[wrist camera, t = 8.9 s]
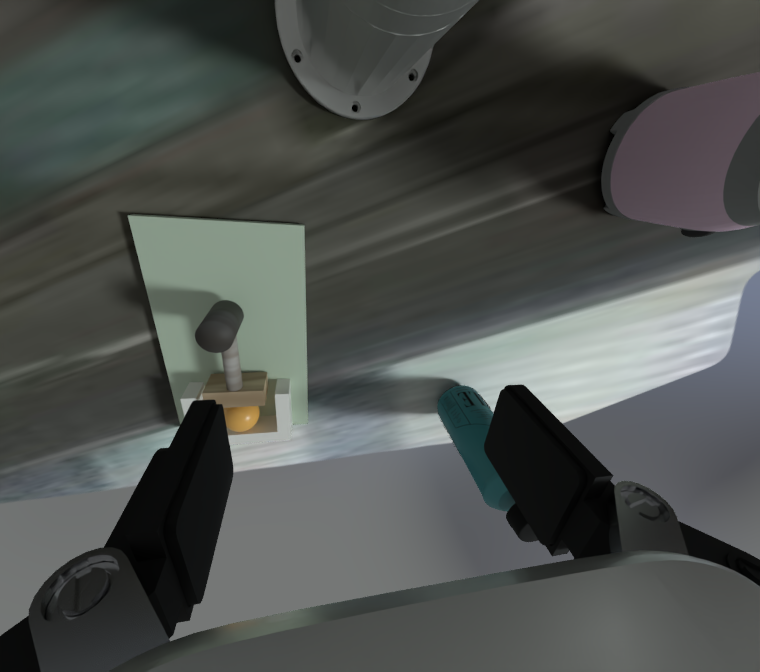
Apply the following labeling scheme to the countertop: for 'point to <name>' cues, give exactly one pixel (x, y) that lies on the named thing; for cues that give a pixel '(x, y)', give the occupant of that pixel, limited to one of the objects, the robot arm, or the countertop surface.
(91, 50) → the countertop surface
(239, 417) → the ball
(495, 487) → the beverage bottle
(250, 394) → the rod
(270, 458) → the countertop surface
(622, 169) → the blender
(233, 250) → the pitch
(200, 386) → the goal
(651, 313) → the countertop surface
